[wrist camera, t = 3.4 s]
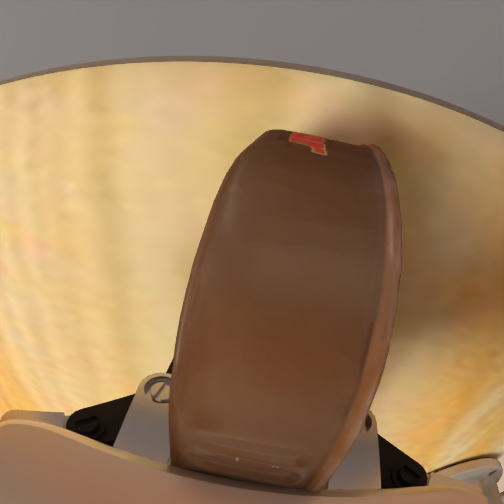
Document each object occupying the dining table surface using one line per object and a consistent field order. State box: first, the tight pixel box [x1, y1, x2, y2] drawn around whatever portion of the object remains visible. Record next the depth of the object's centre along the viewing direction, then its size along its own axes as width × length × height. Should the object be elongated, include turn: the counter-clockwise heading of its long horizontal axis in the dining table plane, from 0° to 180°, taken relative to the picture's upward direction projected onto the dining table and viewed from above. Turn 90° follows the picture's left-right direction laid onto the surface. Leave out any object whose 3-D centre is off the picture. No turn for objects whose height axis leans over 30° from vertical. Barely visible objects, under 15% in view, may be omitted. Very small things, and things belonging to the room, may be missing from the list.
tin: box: [168, 130, 402, 492], centre depth 9 cm, size 15×3×8 cm, turn 171°
